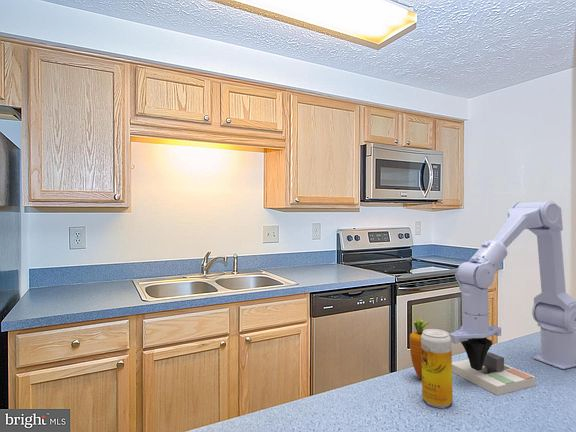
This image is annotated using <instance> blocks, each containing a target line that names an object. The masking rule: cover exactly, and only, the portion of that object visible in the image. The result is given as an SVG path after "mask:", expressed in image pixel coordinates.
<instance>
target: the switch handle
mask: <svg viewBox="0 0 576 432" xmlns="http://www.w3.org/2000/svg"><path fill="white" fill-rule="evenodd" d="M504 364H505V357H502V356H500V355H498V354H496V353H493V352H491V351H488V352H487V354H486V357H485V360H484V363H483V366H485V367H487V369H488V374H489V373H494V372H498V371H502V370H504Z"/></svg>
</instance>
